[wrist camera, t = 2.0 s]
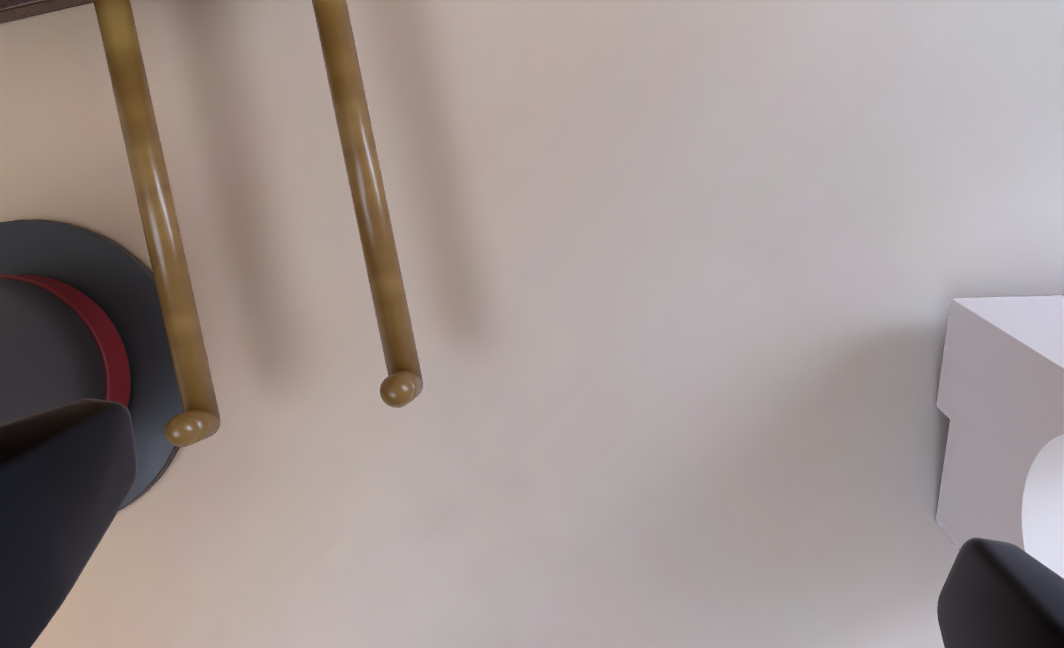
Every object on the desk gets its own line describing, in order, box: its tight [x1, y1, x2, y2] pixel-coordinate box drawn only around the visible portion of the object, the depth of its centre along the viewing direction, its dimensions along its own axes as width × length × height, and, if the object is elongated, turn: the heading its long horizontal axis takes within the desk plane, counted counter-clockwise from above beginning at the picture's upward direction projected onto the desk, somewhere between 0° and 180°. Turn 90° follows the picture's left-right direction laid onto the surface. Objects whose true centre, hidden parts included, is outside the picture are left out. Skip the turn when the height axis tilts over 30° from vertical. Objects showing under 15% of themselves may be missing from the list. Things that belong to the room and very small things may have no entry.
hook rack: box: [0, 0, 423, 447], centre depth 16 cm, size 19×14×17 cm
